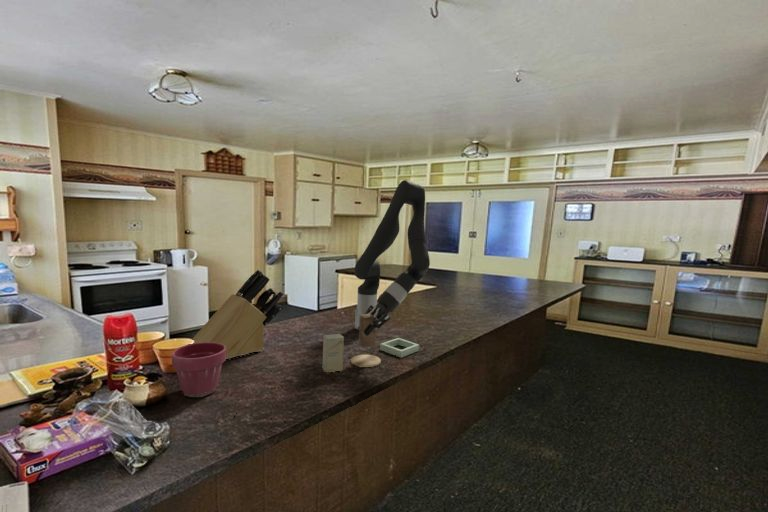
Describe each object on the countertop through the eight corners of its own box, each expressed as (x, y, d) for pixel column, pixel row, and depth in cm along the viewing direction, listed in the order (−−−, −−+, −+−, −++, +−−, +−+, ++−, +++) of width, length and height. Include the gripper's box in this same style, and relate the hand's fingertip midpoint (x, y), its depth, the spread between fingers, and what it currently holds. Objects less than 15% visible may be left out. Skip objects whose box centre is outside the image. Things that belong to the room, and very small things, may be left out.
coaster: (345, 364, 133) (345, 362, 133) (359, 354, 143) (359, 352, 143) (373, 370, 129) (373, 368, 129) (385, 359, 139) (385, 357, 139)
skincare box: (326, 374, 124) (326, 339, 123) (322, 369, 128) (322, 335, 127) (343, 371, 127) (344, 337, 126) (339, 366, 131) (339, 333, 130)
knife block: (285, 346, 148) (286, 270, 145) (191, 371, 123) (190, 279, 119) (270, 339, 156) (271, 267, 152) (180, 360, 130) (178, 274, 127)
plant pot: (207, 376, 119) (207, 338, 118) (236, 388, 112) (236, 347, 111) (162, 393, 107) (161, 351, 105) (191, 408, 100) (190, 362, 98)
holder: (380, 349, 149) (380, 343, 148) (398, 343, 157) (398, 337, 157) (401, 357, 141) (401, 351, 141) (419, 350, 149) (419, 344, 149)
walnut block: (358, 343, 136) (359, 314, 135) (369, 342, 138) (370, 313, 137) (363, 347, 132) (364, 317, 131) (375, 346, 134) (375, 316, 133)
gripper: (377, 287, 143) (348, 320, 139) (395, 294, 130) (363, 331, 126) (389, 299, 146) (360, 332, 142) (408, 307, 133) (377, 344, 129)
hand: (362, 331), depth 134 cm, fingers closed on walnut block, 4 cm apart
